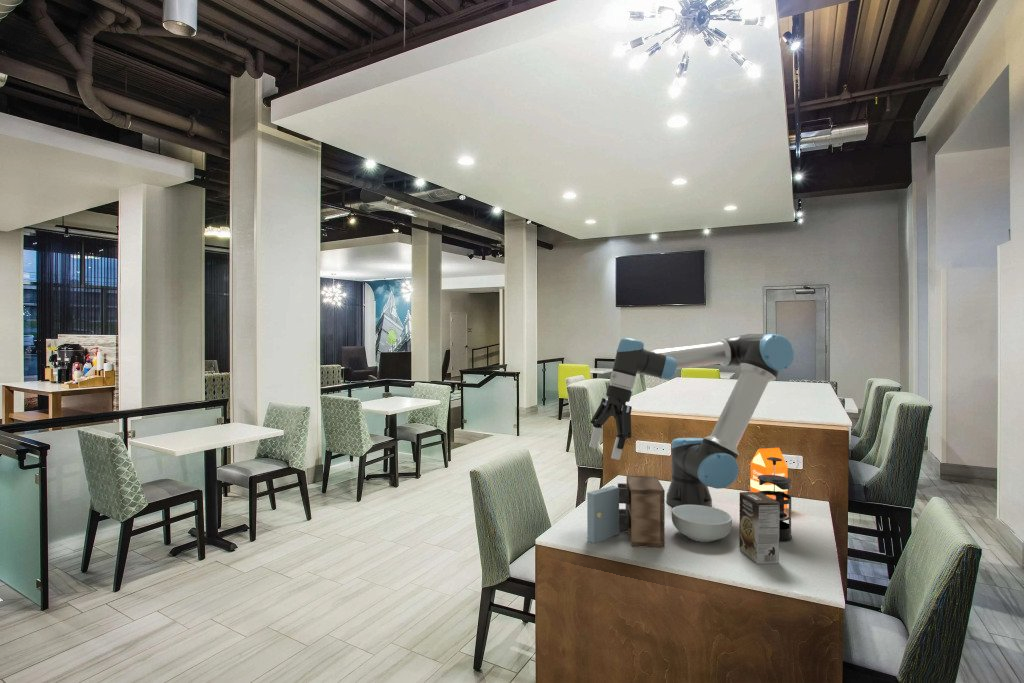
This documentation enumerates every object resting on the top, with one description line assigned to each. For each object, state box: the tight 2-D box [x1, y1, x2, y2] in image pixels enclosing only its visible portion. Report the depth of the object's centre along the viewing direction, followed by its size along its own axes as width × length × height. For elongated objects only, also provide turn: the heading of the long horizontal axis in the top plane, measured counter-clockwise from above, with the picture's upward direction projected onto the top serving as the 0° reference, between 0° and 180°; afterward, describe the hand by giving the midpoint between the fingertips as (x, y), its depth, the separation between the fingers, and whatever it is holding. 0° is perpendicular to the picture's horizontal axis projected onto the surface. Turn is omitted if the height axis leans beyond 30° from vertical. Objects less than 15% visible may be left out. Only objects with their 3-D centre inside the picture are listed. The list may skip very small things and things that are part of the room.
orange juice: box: [749, 447, 789, 509], centre depth 178 cm, size 8×9×20 cm
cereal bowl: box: [671, 505, 733, 543], centre depth 151 cm, size 17×17×7 cm
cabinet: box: [617, 475, 666, 548], centre depth 152 cm, size 12×16×16 cm
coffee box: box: [738, 491, 780, 565], centre depth 137 cm, size 9×6×16 cm
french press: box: [758, 457, 793, 543], centre depth 152 cm, size 12×9×23 cm
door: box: [586, 485, 620, 544], centre depth 150 cm, size 11×4×14 cm, turn 128°
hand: (603, 453), depth 160 cm, fingers open, 13 cm apart
